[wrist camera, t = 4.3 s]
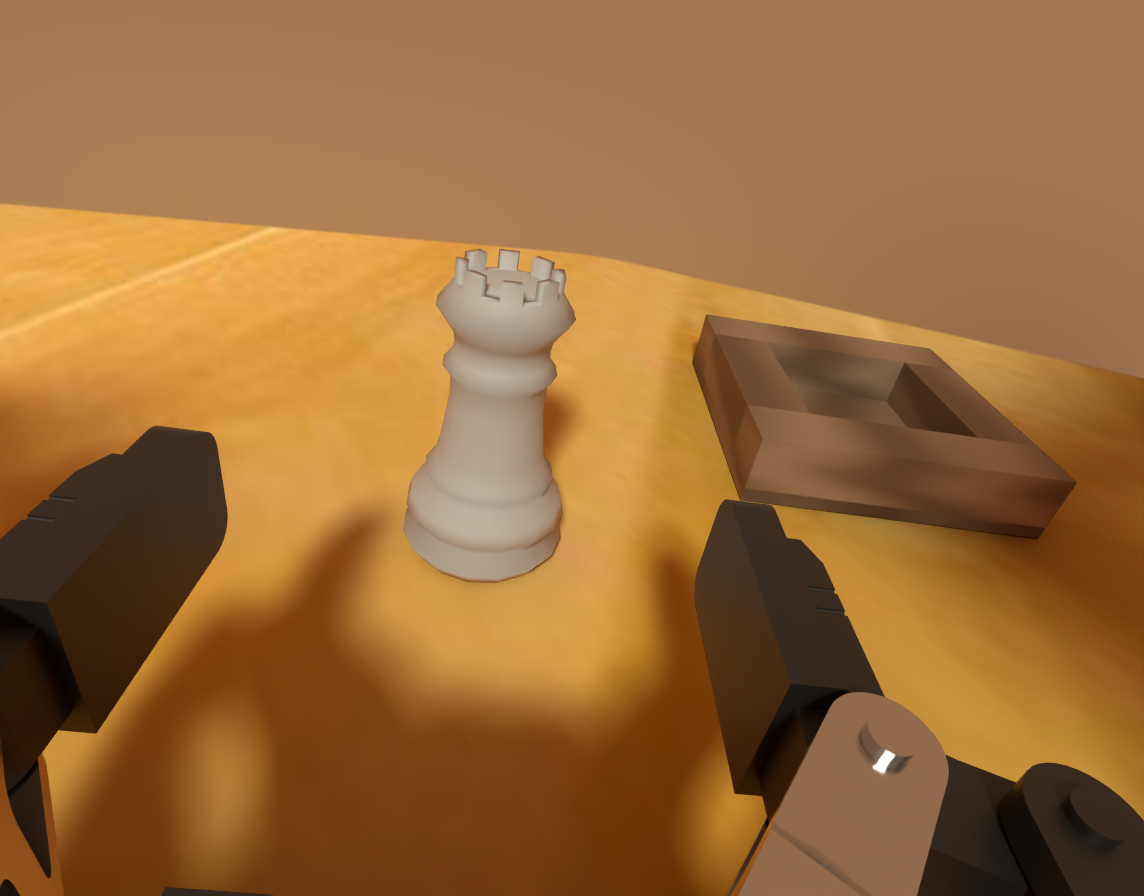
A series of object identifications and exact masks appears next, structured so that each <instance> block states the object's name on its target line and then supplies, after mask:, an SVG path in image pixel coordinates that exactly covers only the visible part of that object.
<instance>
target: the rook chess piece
mask: <svg viewBox="0 0 1144 896" xmlns="http://www.w3.org/2000/svg"><path fill="white" fill-rule="evenodd" d="M519 255H520V251H513V250H505V249H499V259H498V267H493V268H486V262H487V252H485V251H483V250H482V249H477V250H471V251H465V258H461V257H456V264H455V277H454V278H453V279H452V280H451V281H450V282H449V283H448V284H447V285H446V286H445V287H444V288H443V290H442V291H441V292H440V293H439V294H438V296H437V302H436V306H437V307H438V309H439V310H440V312H441V313H442V315H443V316H444V318H445V319H446V321H447V322H448V324H449V325H450V327H451V328H452V330H453V331H454V344H453V347H452V348H451V349H449V350H448V351H447V352H446V353H445V354H444V358H443V366H444V367H445V369H446V370H447V371H448V372H449V374H450V375H451V377H450V392H449V398H448V403H447V407H446V412H445V416H444V421H443V425H442V430H441V434H440V436H439V439H438V441H437V444H436V446H435V447H434V448H433V449H432V450H431V451H430V452H429V453H428V454H427V455H426V462H425V463H424V464H423V465H422V466H421V467H420V469H419V470H418V471H417V472H416V473H415V474H414V475H413V478H412V481H411V483H410V486H409V492H408V498H407V506H408V508H407V509H406V515H405V521H404V528H403V530H404V532H405V534H406V536H407V538H408V540H409V542H410V545H411V547H412V549H413V550H414V551H415V552H416V553H417V554H418V555H419V556H421V557H422V558H423V559H424V560H425V561H427V562H428V563H429V564H430V565H432V566H433V567H434V568H436V569H437V570H438V571H440V572H441V573H442V574H445V575H448V576H451V577H454V578H457V579H460V580H463V581H466V582H484V583H497V582H501V581H505V580H509V579H512V578H516V577H520V576H522V575H524V574H525V573H527V572H529V571H530V570H532V569H533V568H534V567H536V566H537V565H539V564H540V563H542V562H543V561H544V560H546V559H547V558H549V557H550V556H551V555H552V553H553V551H554V549H555V547H556V545H557V543H558V541H559V539H560V531H559V524H558V520H559V518H560V516H561V514H562V507H561V500H560V494H559V487H558V483H557V482H556V481H555V479H554V478H553V477H552V470H551V464H550V462H549V461H548V460H547V459H546V457H545V456H544V404H545V397H546V391H547V387H548V386H549V385H550V384H551V383H552V382H553V380H554V379H555V378H556V376H557V371H556V366H555V364H554V362H553V361H552V359H551V358H550V352H551V349H552V346H553V343H554V342H555V341H556V340H557V339H558V338H559V337H560V336H561V335H562V334H563V333H565V332H566V331H567V330H568V329H569V328H570V326H571V325H572V324H573V323H574V322H575V320H576V318H575V314H574V311H573V308H572V307H571V305H570V303H569V301H568V300H567V298H566V296H565V294H564V288H565V282H566V274H565V271H564V270H563V269H554V262H552V261H550V260H547V259H545V258H543V257H540V256H538V257H535V258H533V262H532V270H531V273H529V272H525V271H521V270H518V263H519Z"/></svg>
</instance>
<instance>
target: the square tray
mask: <svg viewBox="0 0 1144 896" xmlns="http://www.w3.org/2000/svg"><path fill="white" fill-rule="evenodd" d="M693 365H694V368H695V371H696V374H697V377H698V379H699V382H700V385H701V388H702V391H703V394H704V397H705V399H706V402H707V405H708V408H709V411H710V414H711V417H712V420H713V422H714V425H715V428H716V431H717V434H718V437H719V440H720V443H721V445H722V448H723V451H724V454H725V457H726V460H727V463H728V465H729V468H730V471H731V474H732V477H733V480H734V483H735V486H736V488H737V491H738V494H739V497H740V500H746V501H753V502H761V503H768V504H776V505H784V506H791V507H799V508H807V509H814V510H822V511H830V512H837V513H845V514H852V515H860V516H868V517H875V518H883V519H891V520H898V521H906V522H914V523H921V524H929V525H936V526H944V527H952V528H959V529H967V530H975V531H982V532H990V533H998V534H1005V535H1013V536H1020V537H1028V538H1036V539H1038V538H1039V537H1040V535H1041V534H1042V532H1043V531H1044V529H1045V528H1046V526H1047V525H1048V524H1049V522H1050V521H1051V519H1052V518H1053V516H1054V515H1055V514H1056V512H1057V511H1058V509H1059V508H1060V506H1061V505H1062V503H1063V502H1064V501H1065V499H1066V498H1067V496H1068V495H1069V493H1070V492H1071V490H1072V489H1073V488H1074V486H1075V485H1076V483H1077V482H1076V481H1075V480H1074V479H1073V478H1072V477H1070V476H1069V475H1068V474H1067V473H1066V472H1065V471H1064V470H1063V469H1062V468H1061V467H1059V466H1058V465H1057V464H1056V463H1055V462H1054V461H1053V460H1052V459H1051V458H1050V457H1048V456H1047V455H1046V454H1045V453H1044V452H1043V451H1042V450H1041V449H1040V448H1039V447H1037V446H1036V445H1035V444H1034V443H1033V442H1032V441H1031V440H1030V439H1029V438H1028V437H1026V436H1025V435H1024V434H1023V433H1022V432H1021V431H1020V430H1019V429H1018V428H1017V427H1016V426H1014V425H1013V424H1012V423H1011V422H1010V421H1009V420H1008V419H1007V418H1006V417H1005V416H1003V415H1002V414H1001V413H1000V412H999V411H998V410H997V409H996V408H995V407H994V406H992V405H991V404H990V403H989V402H988V401H987V400H986V399H985V398H984V397H983V396H981V395H980V394H979V393H978V392H977V391H976V390H975V389H974V388H973V387H972V386H971V385H969V384H968V383H967V382H966V381H965V380H964V379H963V378H962V377H961V376H960V375H958V374H957V373H956V372H955V371H954V370H953V369H952V368H951V367H950V366H949V365H947V364H946V363H945V362H944V361H943V360H942V359H941V358H940V357H939V356H938V355H936V354H935V353H934V352H933V351H932V350H931V349H928V348H922V347H915V346H909V345H902V344H896V343H889V342H883V341H876V340H870V339H863V338H857V337H850V336H844V335H837V334H831V333H824V332H818V331H811V330H805V329H798V328H792V327H785V326H779V325H772V324H766V323H759V322H753V321H746V320H739V319H733V318H726V317H720V316H713V315H707V314H706V317H705V321H704V324H703V328H702V332H701V335H700V339H699V342H698V346H697V350H696V353H695V357H694V360H693Z"/></svg>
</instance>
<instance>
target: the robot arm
mask: <svg viewBox="0 0 1144 896" xmlns="http://www.w3.org/2000/svg"><path fill="white" fill-rule="evenodd" d="M227 519H228V515H227V506H226V499H225V493H224V487H223V480H222V474H221V468H220V461H219V455H218V449H217V444H216V441H215V438H214V437H213V435H212V434H211V433H209V432H202V431H194V430H187V429H179V428H171V427H163V426H154V427H152V428H150V429H149V430H147V431H146V432H145V433H144V434H143V435H142V436H141V437H140V438H139V439H138V440H137V441H136V442H135V443H134V444H133V445H132V446H131V447H130V448H129V449H128V450H126V451H125V452H124V453H123V454H122V455H120V454H110V455H108V456H106V457H104V458H102V459H100V460H98V461H96V462H94V463H92V464H90V465H88V466H86V467H84V468H82V469H80V470H78V471H76V472H74V473H73V474H72V475H71V476H70V477H69V478H68V479H67V480H65V481H64V482H63V483H62V484H61V485H60V486H59V487H58V488H57V489H55V490H54V491H53V492H52V493H51V494H50V495H49V500H43V501H42V502H41V503H40V504H39V505H38V506H37V507H36V508H34V509H33V510H32V511H31V512H30V513H29V514H28V518H27V520H21V521H20V522H19V523H18V524H17V525H16V526H15V527H13V528H12V529H11V530H10V531H9V532H8V533H7V534H6V535H5V536H3V537H2V538H1V539H0V896H64V891H63V884H62V877H61V870H60V862H59V854H58V847H57V839H56V832H55V824H54V817H53V809H52V802H51V794H50V787H49V779H48V772H47V765H46V761H45V758H44V756H43V754H42V752H43V751H44V749H45V748H46V746H47V745H48V744H49V742H50V741H51V739H52V738H53V737H54V735H55V734H56V733H57V731H58V730H62V731H73V732H85V733H97V732H98V730H99V729H100V727H101V726H102V724H103V723H104V721H105V720H106V718H107V717H108V715H109V714H110V712H111V711H112V709H113V708H114V706H115V705H116V703H117V702H118V700H119V699H120V697H121V696H122V694H123V693H124V691H125V690H126V688H127V687H128V685H129V684H130V682H131V681H132V679H133V678H134V676H135V675H136V673H137V672H138V670H139V669H140V667H141V666H142V664H143V663H144V661H145V660H146V658H147V657H148V655H149V654H150V652H151V651H152V650H153V648H154V647H155V645H156V644H157V642H158V641H159V639H160V638H161V636H162V635H163V633H164V632H165V630H166V629H167V627H168V626H169V624H170V623H171V621H172V620H173V618H174V617H175V615H176V614H177V612H178V611H179V609H180V608H181V606H182V605H183V603H184V602H185V600H186V599H187V597H188V596H189V594H190V593H191V591H192V590H193V588H194V587H195V585H196V584H197V582H198V581H199V579H200V578H201V576H202V575H203V573H204V572H205V570H206V569H207V567H208V566H209V564H210V563H211V561H212V560H213V558H214V557H215V555H216V554H217V552H218V551H219V549H220V547H221V545H222V542H223V540H224V536H225V533H226V528H227ZM834 591H835V588H834V586H833V584H832V582H831V580H830V577H829V575H828V573H827V571H826V569H825V567H824V564H823V563H822V562H821V561H820V560H819V559H818V558H817V557H816V556H815V555H814V554H813V552H812V551H811V550H810V549H809V548H808V547H807V546H806V545H805V544H804V543H803V542H802V541H801V540H798V539H790V538H787V537H786V535H785V533H784V530H783V528H782V525H781V523H780V521H779V518H778V516H777V513H776V511H775V509H774V508H773V507H772V506H771V505H766V504H758V503H750V502H742V501H734V500H724V501H723V502H722V503H721V505H720V507H719V509H718V512H717V514H716V517H715V520H714V523H713V526H712V529H711V532H710V535H709V538H708V540H707V543H706V546H705V549H704V552H703V555H702V558H701V561H700V564H699V567H698V570H697V574H696V580H695V594H694V595H695V607H696V612H697V617H698V621H699V626H700V631H701V636H702V641H703V645H704V650H705V655H706V660H707V664H708V669H709V674H710V679H711V683H712V688H713V693H714V698H715V702H716V707H717V712H718V717H719V721H720V726H721V731H722V736H723V740H724V745H725V750H726V755H727V759H728V764H729V769H730V774H731V778H732V783H733V788H734V793H735V794H744V795H755V796H762V797H763V801H764V805H765V809H766V813H767V818H766V819H765V821H764V823H763V824H762V826H761V828H760V830H759V832H758V834H757V836H756V838H755V840H754V842H753V844H752V845H751V847H750V849H749V851H748V853H747V855H746V857H745V859H744V861H743V863H742V865H741V867H740V869H739V871H738V873H737V874H736V876H735V878H734V880H733V882H732V884H731V886H730V888H729V890H728V892H727V894H726V896H1144V821H1143V819H1142V818H1141V817H1140V816H1139V815H1138V814H1137V813H1136V811H1135V810H1134V809H1133V808H1132V807H1131V806H1130V805H1129V804H1128V803H1127V802H1126V801H1125V800H1123V799H1122V798H1121V797H1120V796H1119V795H1117V794H1116V793H1115V792H1114V791H1113V790H1111V789H1110V788H1108V787H1107V786H1106V785H1104V784H1103V783H1101V782H1100V781H1098V780H1096V779H1095V778H1093V777H1091V776H1090V775H1088V774H1086V773H1083V772H1081V771H1079V770H1077V769H1074V768H1072V767H1069V766H1066V765H1061V764H1057V763H1041V764H1037V765H1035V766H1032V767H1031V768H1030V769H1029V770H1027V772H1026V773H1025V774H1024V775H1023V776H1022V777H1021V778H1020V779H1019V780H1018V781H1017V783H1016V782H1013V781H1010V780H1008V779H1005V778H1003V777H1000V776H997V775H995V774H992V773H990V772H987V771H984V770H982V769H979V768H977V767H974V766H972V765H969V764H966V763H964V762H961V761H959V760H956V759H954V758H952V757H949V756H947V755H945V753H944V751H943V749H942V747H941V745H940V743H939V741H938V740H937V738H936V737H935V735H934V734H933V733H932V732H931V730H930V729H929V728H928V727H927V726H926V725H925V724H924V723H923V722H922V721H921V720H920V719H919V718H918V717H917V716H915V715H914V714H913V713H912V712H910V711H909V710H907V709H906V708H904V707H903V706H901V705H900V704H898V703H896V702H894V701H892V700H890V699H887V698H885V696H884V694H883V692H882V690H881V688H880V685H879V683H878V681H877V679H876V677H875V675H874V672H873V670H872V668H871V666H870V664H869V662H868V660H867V657H866V655H865V653H864V651H863V649H862V647H861V644H860V642H859V640H858V638H857V636H856V634H855V631H854V629H853V627H852V625H851V623H850V621H849V618H848V616H845V615H844V611H845V610H844V608H843V606H842V603H841V601H840V599H839V597H838V595H837V594H835V593H834ZM162 896H272V895H267V894H253V893H239V892H225V891H211V890H197V889H184V888H170V887H165V889H164V892H163V894H162Z"/></svg>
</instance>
